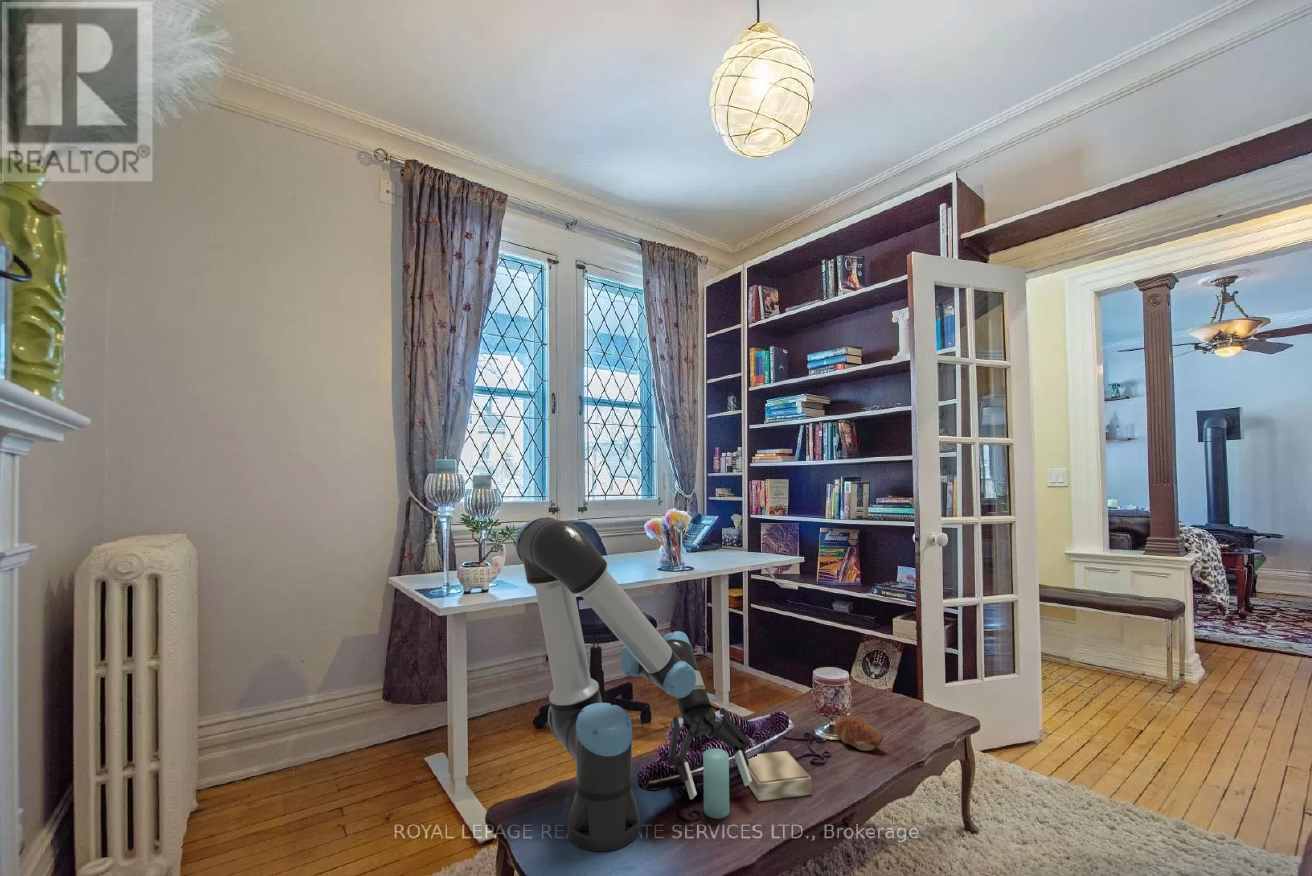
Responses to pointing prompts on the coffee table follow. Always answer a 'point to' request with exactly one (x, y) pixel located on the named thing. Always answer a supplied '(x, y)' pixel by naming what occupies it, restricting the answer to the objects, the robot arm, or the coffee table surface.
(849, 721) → the bread roll
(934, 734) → the coffee table surface
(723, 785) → the teal pillar
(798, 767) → the block
